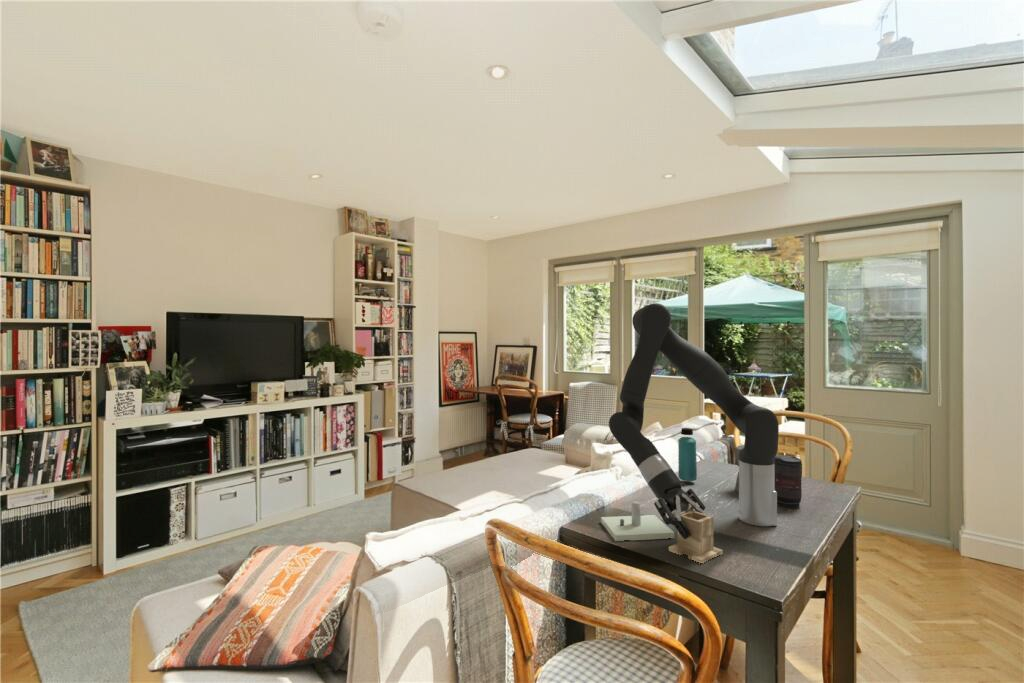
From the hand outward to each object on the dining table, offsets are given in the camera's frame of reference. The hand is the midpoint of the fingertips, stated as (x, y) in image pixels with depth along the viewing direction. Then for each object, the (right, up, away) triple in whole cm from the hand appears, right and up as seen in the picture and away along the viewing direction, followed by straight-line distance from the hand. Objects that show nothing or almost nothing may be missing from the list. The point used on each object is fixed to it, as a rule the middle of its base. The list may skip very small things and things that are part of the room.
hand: (698, 533), depth 117 cm
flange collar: (0, -5, +1) cm, 5 cm away
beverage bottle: (+19, -5, +59) cm, 62 cm away
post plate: (-11, -5, +15) cm, 19 cm away
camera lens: (+42, -5, +35) cm, 55 cm away
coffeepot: (+37, -5, +49) cm, 62 cm away
